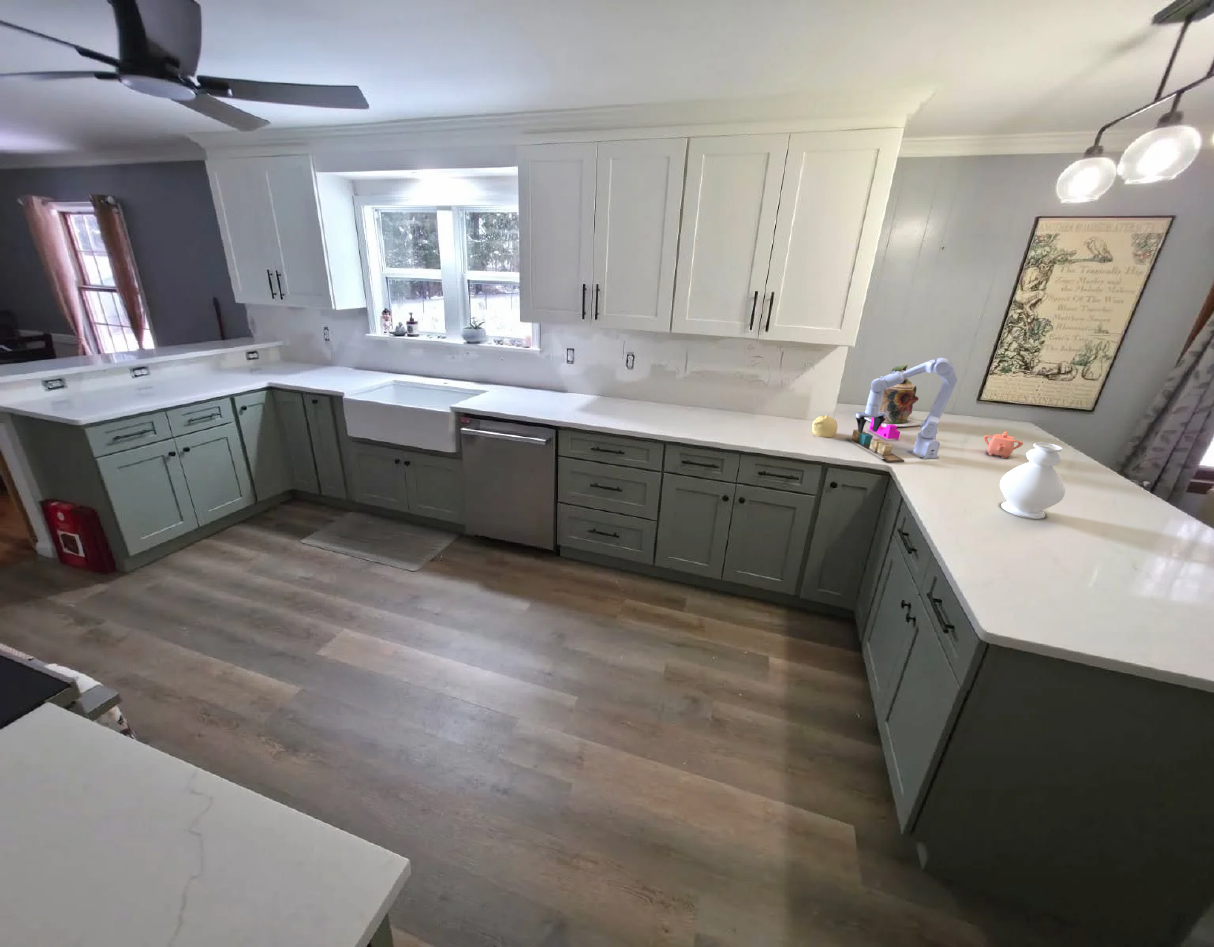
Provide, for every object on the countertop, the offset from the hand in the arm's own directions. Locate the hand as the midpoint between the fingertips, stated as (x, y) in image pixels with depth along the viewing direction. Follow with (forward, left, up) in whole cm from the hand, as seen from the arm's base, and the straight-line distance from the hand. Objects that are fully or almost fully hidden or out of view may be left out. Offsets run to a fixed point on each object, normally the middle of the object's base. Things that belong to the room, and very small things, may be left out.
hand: (867, 431), depth 239 cm
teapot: (-20, -55, -7) cm, 59 cm away
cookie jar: (+34, -39, -7) cm, 52 cm away
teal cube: (0, 0, -6) cm, 6 cm away
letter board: (-7, 0, -7) cm, 10 cm away
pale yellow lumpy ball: (+15, +13, -7) cm, 21 cm away
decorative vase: (-71, -14, -7) cm, 73 cm away
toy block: (+12, -19, -7) cm, 24 cm away
